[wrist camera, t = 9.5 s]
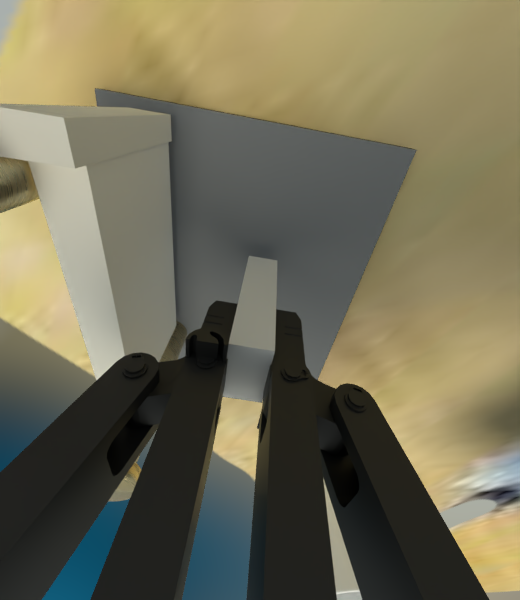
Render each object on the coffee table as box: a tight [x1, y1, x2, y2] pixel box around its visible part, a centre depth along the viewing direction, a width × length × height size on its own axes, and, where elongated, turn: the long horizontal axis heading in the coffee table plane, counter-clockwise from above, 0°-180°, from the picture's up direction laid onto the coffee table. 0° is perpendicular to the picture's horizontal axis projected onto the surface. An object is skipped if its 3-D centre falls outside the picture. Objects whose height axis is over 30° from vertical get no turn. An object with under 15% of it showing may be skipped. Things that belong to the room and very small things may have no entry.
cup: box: [323, 478, 362, 600], centre depth 30 cm, size 8×12×10 cm
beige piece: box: [0, 104, 176, 380], centre depth 12 cm, size 12×2×7 cm, turn 172°
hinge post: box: [109, 321, 187, 501], centre depth 16 cm, size 3×3×11 cm
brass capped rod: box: [0, 157, 40, 213], centre depth 9 cm, size 3×3×11 cm
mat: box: [95, 88, 416, 380], centre depth 18 cm, size 15×17×1 cm
